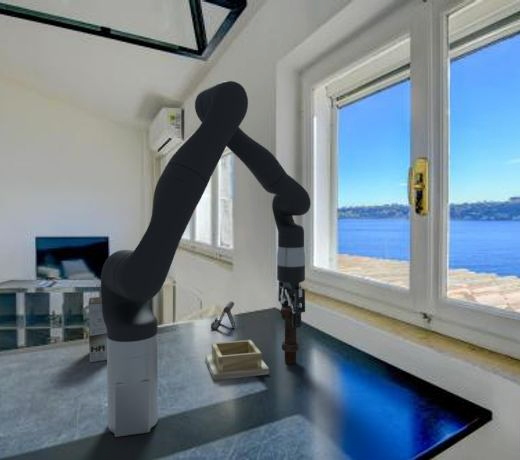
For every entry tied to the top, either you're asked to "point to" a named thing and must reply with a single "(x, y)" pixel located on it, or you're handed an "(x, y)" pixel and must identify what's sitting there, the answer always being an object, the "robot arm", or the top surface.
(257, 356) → the board
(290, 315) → the bolt
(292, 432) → the top surface
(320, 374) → the top surface
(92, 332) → the coffee box
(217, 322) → the portable electronic device stand
